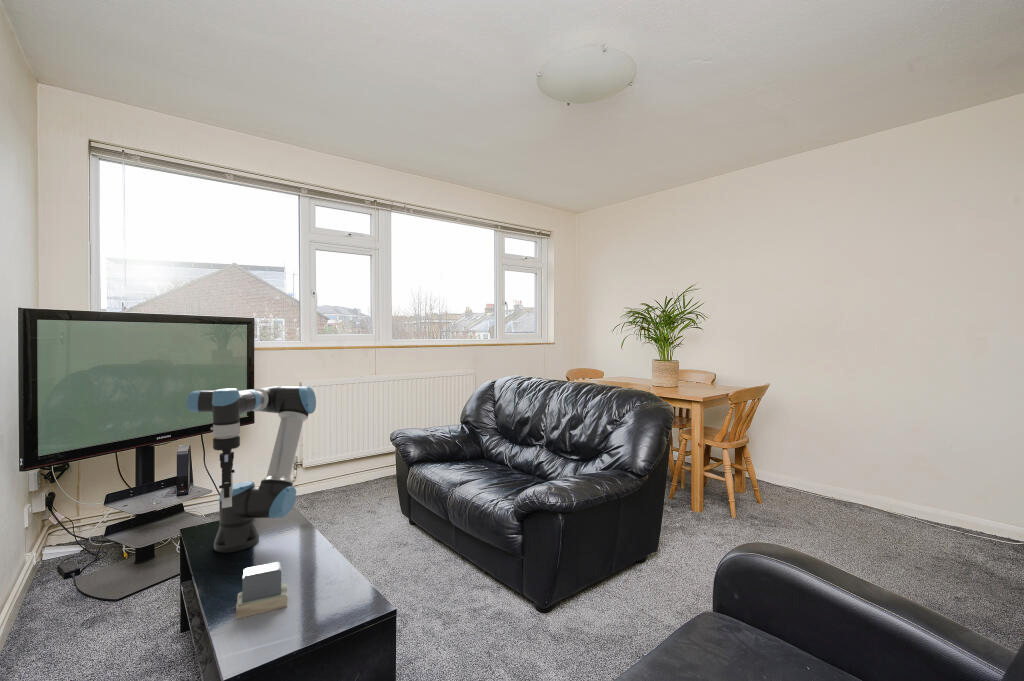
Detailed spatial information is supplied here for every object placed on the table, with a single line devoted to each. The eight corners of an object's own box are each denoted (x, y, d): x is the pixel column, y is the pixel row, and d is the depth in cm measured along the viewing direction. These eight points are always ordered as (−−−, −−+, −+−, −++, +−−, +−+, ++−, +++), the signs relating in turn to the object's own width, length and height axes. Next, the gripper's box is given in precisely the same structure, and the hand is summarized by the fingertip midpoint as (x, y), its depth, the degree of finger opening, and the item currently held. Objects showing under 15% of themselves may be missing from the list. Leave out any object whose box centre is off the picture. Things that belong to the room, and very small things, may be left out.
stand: (238, 604, 136) (238, 592, 136) (286, 593, 143) (286, 581, 143) (236, 618, 129) (236, 606, 129) (287, 606, 135) (287, 594, 135)
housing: (280, 584, 141) (281, 560, 141) (281, 594, 136) (281, 569, 136) (243, 592, 136) (243, 568, 136) (242, 602, 131) (242, 577, 131)
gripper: (214, 429, 158) (215, 490, 159) (210, 446, 137) (211, 515, 137) (240, 427, 162) (240, 486, 162) (239, 443, 140) (240, 510, 141)
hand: (227, 500), depth 150 cm, fingers open, 13 cm apart
